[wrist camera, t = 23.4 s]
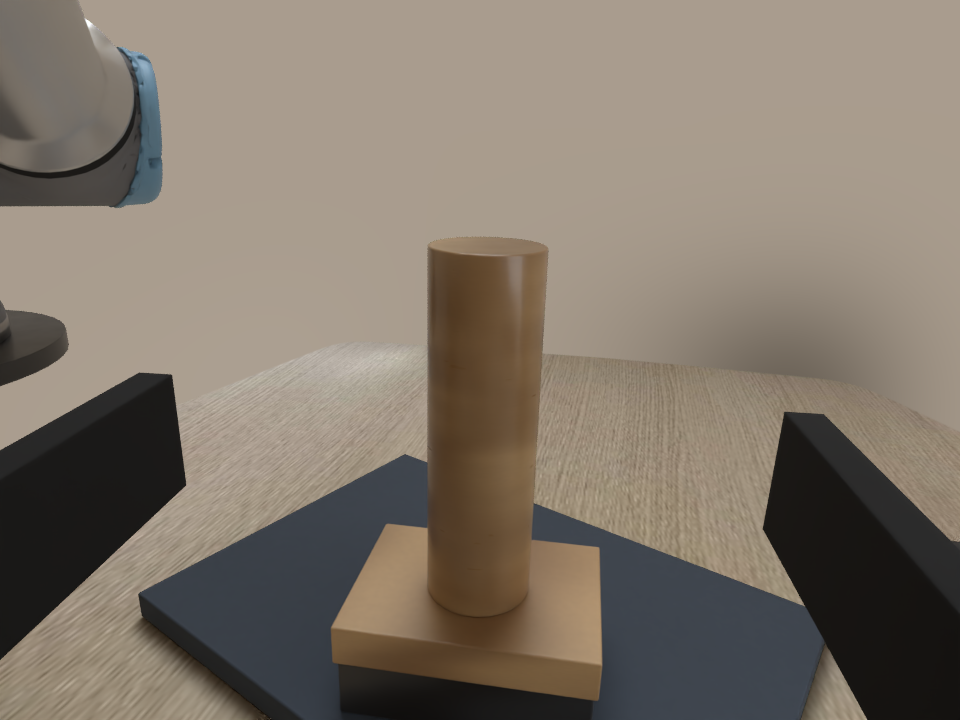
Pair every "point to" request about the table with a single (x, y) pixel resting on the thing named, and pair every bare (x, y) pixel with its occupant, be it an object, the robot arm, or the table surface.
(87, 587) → the table surface
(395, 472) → the scrub mat
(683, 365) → the table surface
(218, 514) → the table surface
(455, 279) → the wooden peg stand
